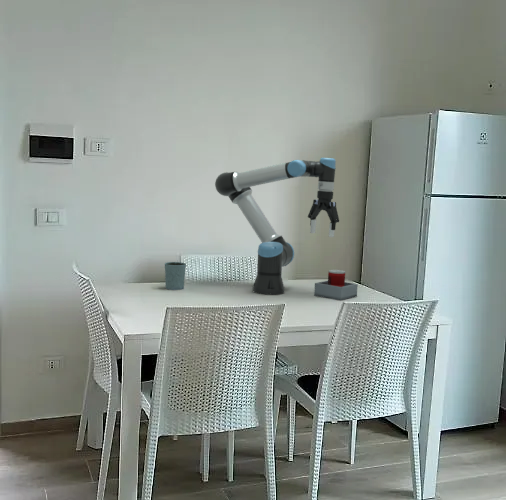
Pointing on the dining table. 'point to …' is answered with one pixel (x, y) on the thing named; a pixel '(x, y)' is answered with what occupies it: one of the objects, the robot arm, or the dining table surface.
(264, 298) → the dining table surface
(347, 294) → the bin
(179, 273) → the blue-grey cup
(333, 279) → the canned food
